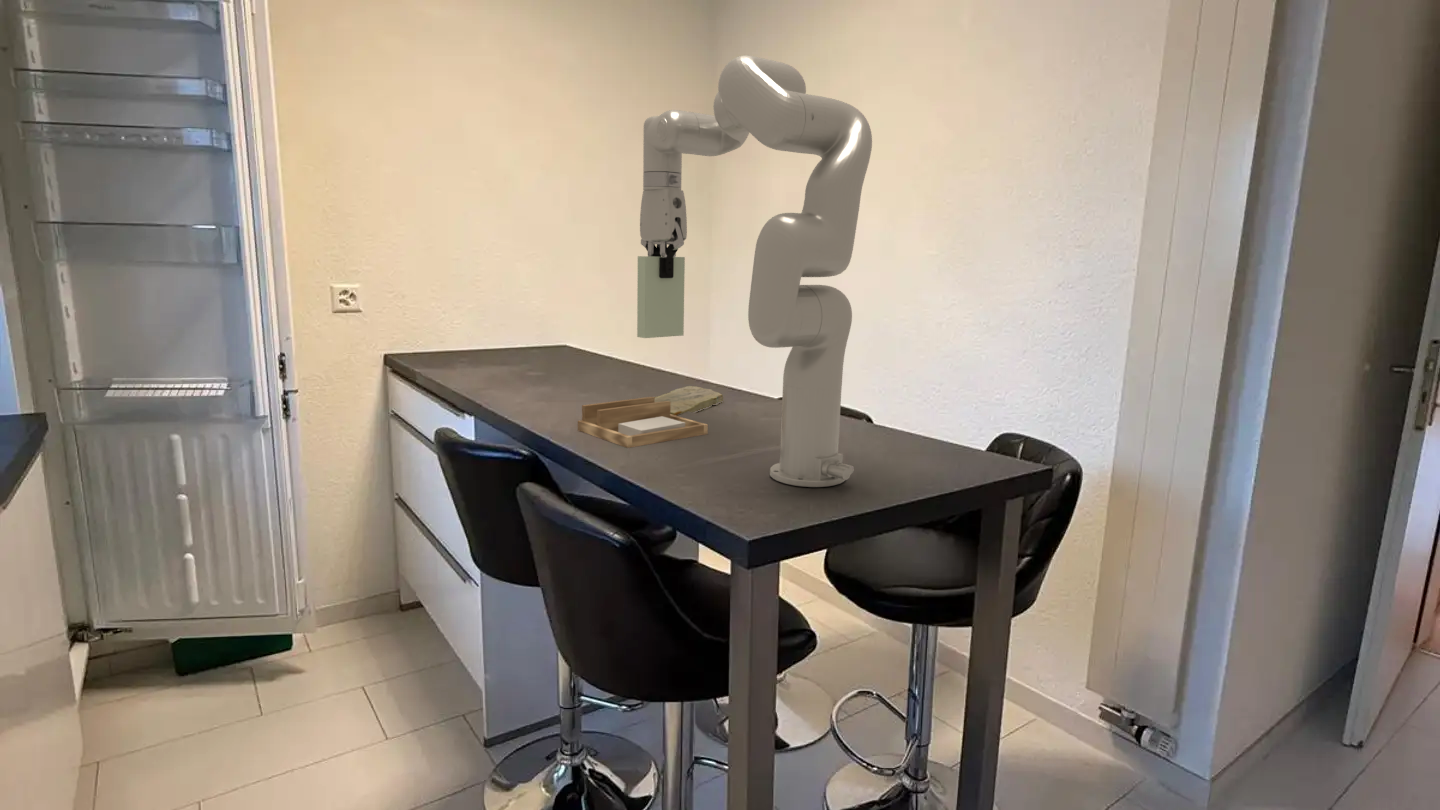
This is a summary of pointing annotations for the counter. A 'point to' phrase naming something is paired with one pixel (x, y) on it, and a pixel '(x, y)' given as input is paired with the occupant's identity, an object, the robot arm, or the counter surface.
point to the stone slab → (690, 399)
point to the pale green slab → (660, 299)
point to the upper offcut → (649, 425)
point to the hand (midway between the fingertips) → (661, 276)
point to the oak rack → (608, 415)
